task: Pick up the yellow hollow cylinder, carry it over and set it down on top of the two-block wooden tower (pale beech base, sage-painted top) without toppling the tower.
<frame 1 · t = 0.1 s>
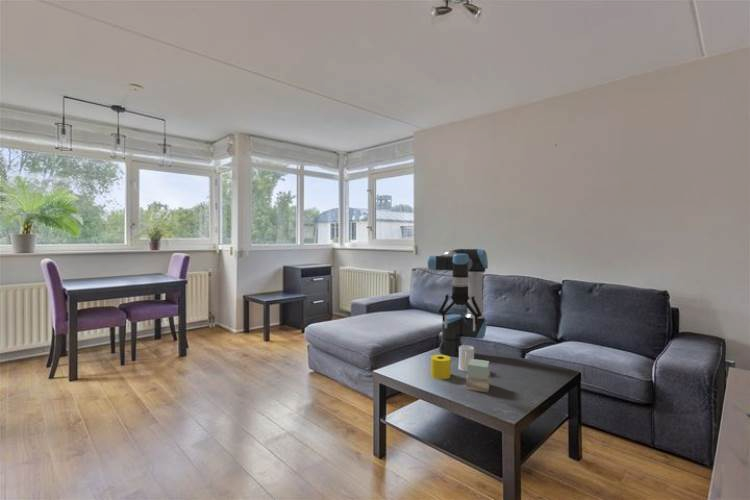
hand: (459, 329, 180), 28 cm above the table, fingers open, 13 cm apart
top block: (478, 375, 179), point 6 cm above the table, touching base block
base block: (478, 387, 180), on the table, touching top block
mug: (465, 370, 202), on the table
yellow hollow cylinder: (440, 375, 194), on the table
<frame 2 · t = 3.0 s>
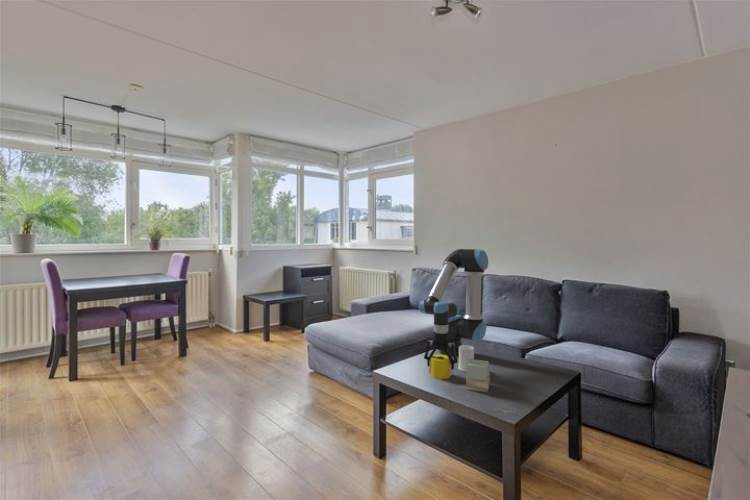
hand: (440, 373, 194), 1 cm above the table, fingers closed on yellow hollow cylinder, 10 cm apart
yellow hollow cylinder: (440, 375, 194), on the table, touching gripper
everything else where it was.
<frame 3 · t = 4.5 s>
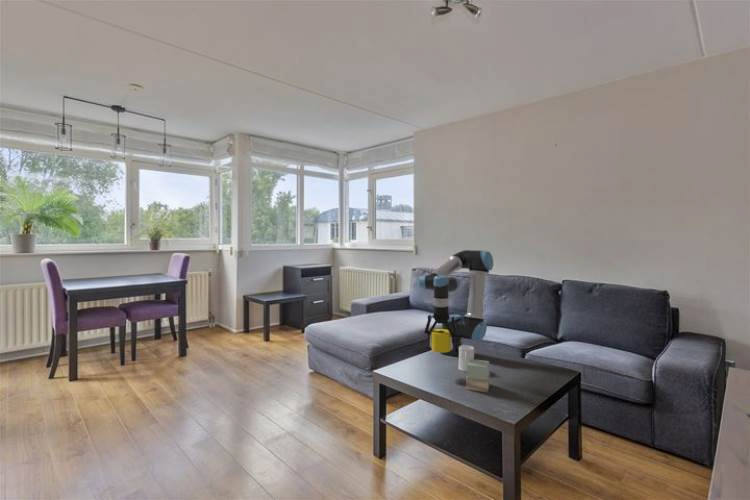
hand: (441, 347, 194), 15 cm above the table, fingers closed on yellow hollow cylinder, 10 cm apart
yellow hollow cylinder: (441, 349, 194), point 13 cm above the table, touching gripper
everything else where it was.
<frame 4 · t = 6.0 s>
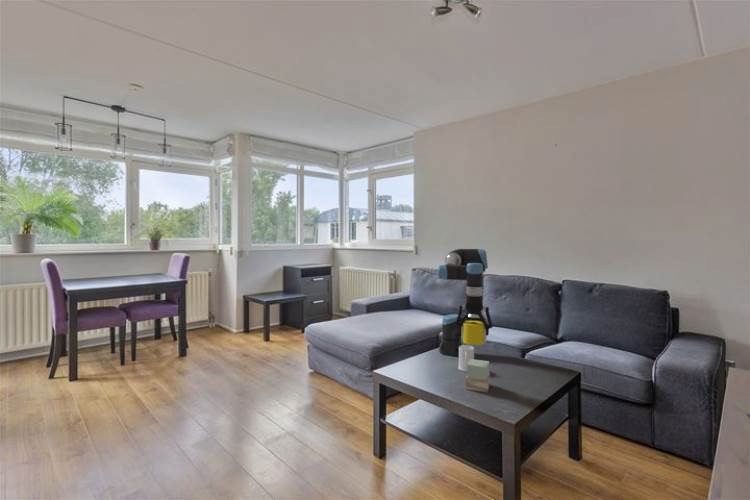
hand: (473, 340, 180), 22 cm above the table, fingers closed on yellow hollow cylinder, 10 cm apart
yellow hollow cylinder: (473, 342, 180), point 21 cm above the table, touching gripper
everything else where it was.
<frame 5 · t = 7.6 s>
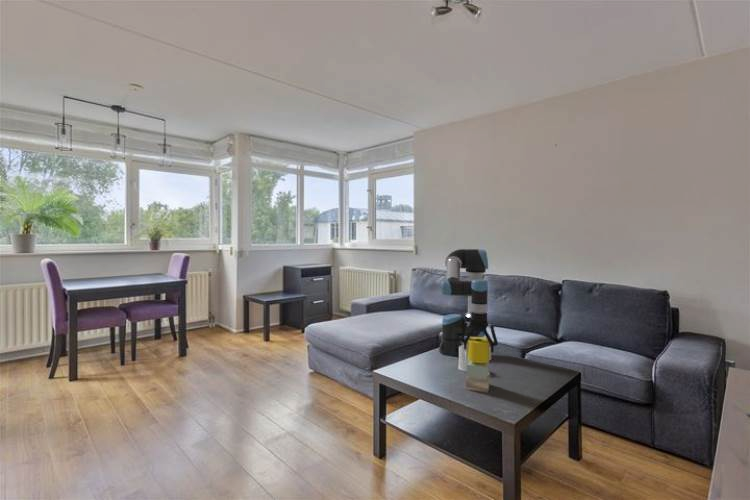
hand: (478, 357, 179), 14 cm above the table, fingers closed on yellow hollow cylinder, 10 cm apart
yellow hollow cylinder: (478, 359, 179), point 13 cm above the table, touching gripper
everything else where it was.
when the fingers open (14 cm above the table, at t = 8.1 s): yellow hollow cylinder drops 2 cm, resting on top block.
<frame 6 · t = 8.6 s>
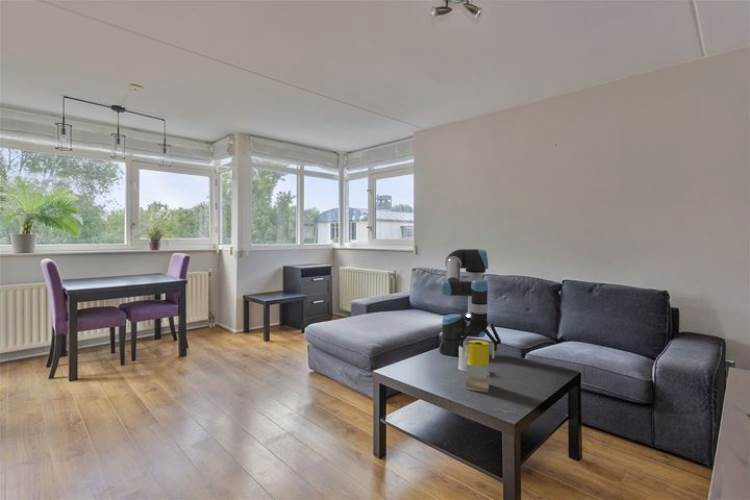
hand: (478, 355, 179), 15 cm above the table, fingers open, 13 cm apart
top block: (477, 374, 179), point 6 cm above the table, touching base block, yellow hollow cylinder
yellow hollow cylinder: (478, 362, 179), point 12 cm above the table, touching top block
everything else where it was.
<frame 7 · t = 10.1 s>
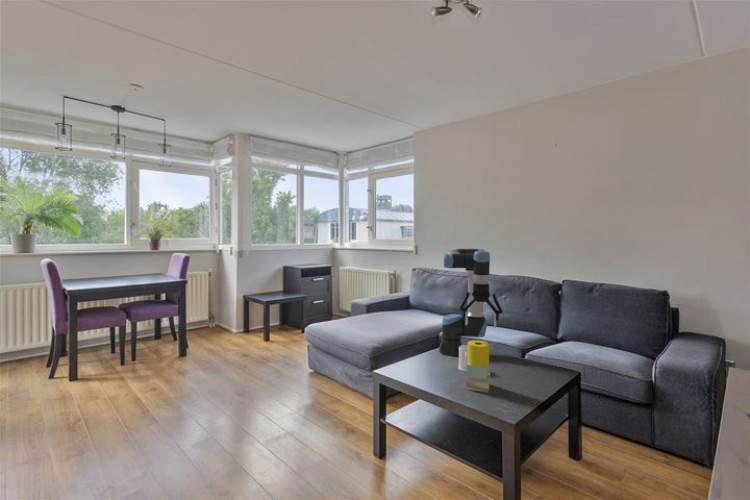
hand: (480, 325, 182), 29 cm above the table, fingers open, 13 cm apart
nothing on the table moved.
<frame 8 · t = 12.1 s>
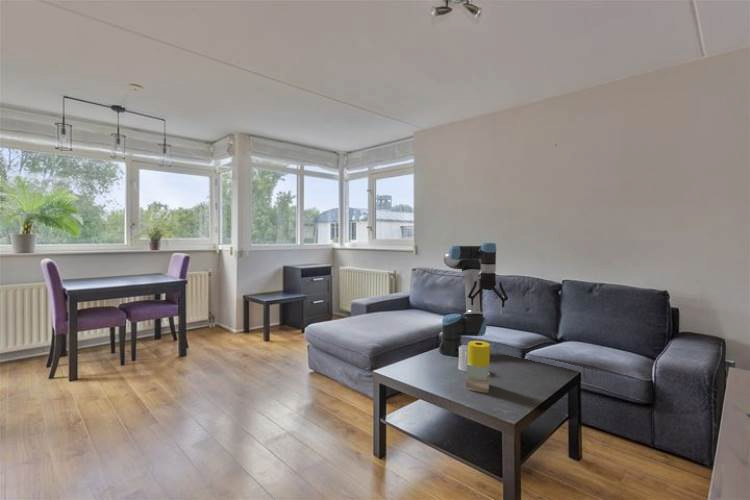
hand: (487, 312, 195), 33 cm above the table, fingers open, 13 cm apart
nothing on the table moved.
at the end: yellow hollow cylinder inside the target area on the base block (0.3 cm from its centre), point 11.8 cm above the base block's base; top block 0.2 cm off-centre on the base block, point 6.0 cm above the base block's base; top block tilted 0° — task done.
